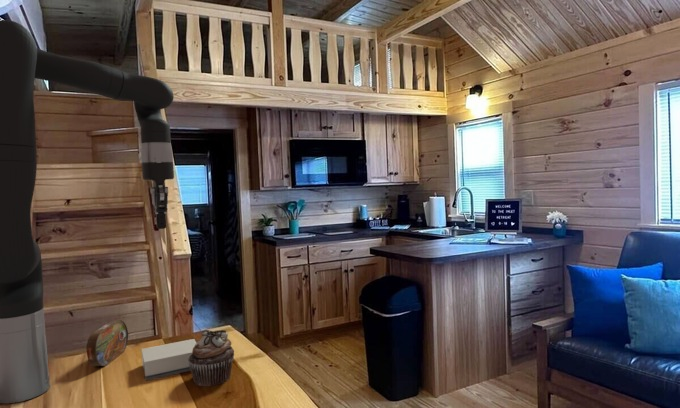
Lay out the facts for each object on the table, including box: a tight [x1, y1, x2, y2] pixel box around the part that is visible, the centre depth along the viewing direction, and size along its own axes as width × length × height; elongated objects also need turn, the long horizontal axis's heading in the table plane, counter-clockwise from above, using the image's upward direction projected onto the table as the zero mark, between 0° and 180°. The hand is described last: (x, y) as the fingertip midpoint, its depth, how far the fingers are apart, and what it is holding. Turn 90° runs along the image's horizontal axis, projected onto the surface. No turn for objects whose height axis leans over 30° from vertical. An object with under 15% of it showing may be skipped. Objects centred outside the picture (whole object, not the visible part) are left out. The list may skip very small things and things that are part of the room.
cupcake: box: [188, 329, 235, 387], centre depth 98 cm, size 10×10×10 cm
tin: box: [85, 320, 129, 367], centre depth 111 cm, size 15×3×8 cm, turn 179°
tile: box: [141, 338, 197, 377], centre depth 105 cm, size 12×4×9 cm
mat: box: [142, 366, 191, 381], centre depth 105 cm, size 12×8×1 cm
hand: (161, 228), depth 117 cm, fingers closed
